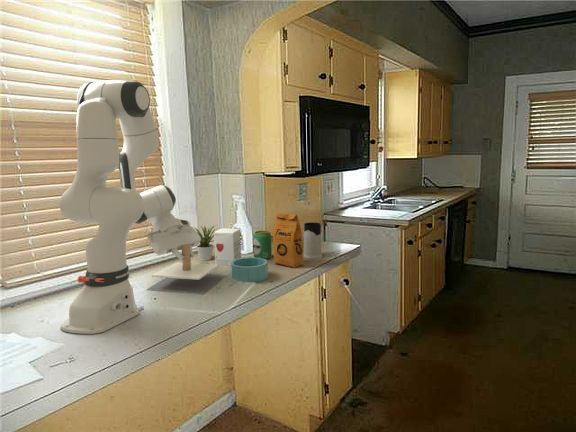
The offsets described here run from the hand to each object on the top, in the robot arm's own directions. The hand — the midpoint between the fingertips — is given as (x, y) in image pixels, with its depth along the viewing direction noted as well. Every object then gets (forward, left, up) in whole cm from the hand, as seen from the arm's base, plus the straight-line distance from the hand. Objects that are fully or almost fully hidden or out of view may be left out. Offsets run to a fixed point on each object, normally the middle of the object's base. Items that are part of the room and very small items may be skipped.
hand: (187, 257), depth 154 cm
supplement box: (+29, -4, -10) cm, 31 cm away
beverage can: (+41, -16, -10) cm, 45 cm away
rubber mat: (+1, +1, -10) cm, 10 cm away
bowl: (+13, -19, -10) cm, 25 cm away
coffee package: (+33, -30, -10) cm, 46 cm away
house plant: (+35, +8, -10) cm, 37 cm away
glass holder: (+51, -39, -10) cm, 65 cm away
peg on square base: (0, +1, -5) cm, 5 cm away
